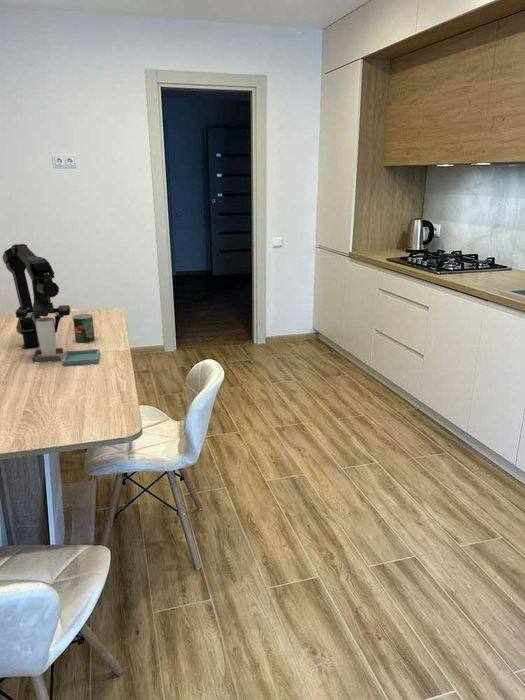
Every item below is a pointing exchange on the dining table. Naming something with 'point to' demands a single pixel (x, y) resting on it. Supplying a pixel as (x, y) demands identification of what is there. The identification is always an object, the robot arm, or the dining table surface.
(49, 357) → the dock
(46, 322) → the drinking glass
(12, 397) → the dining table surface
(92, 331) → the canned tomato
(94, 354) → the tray
